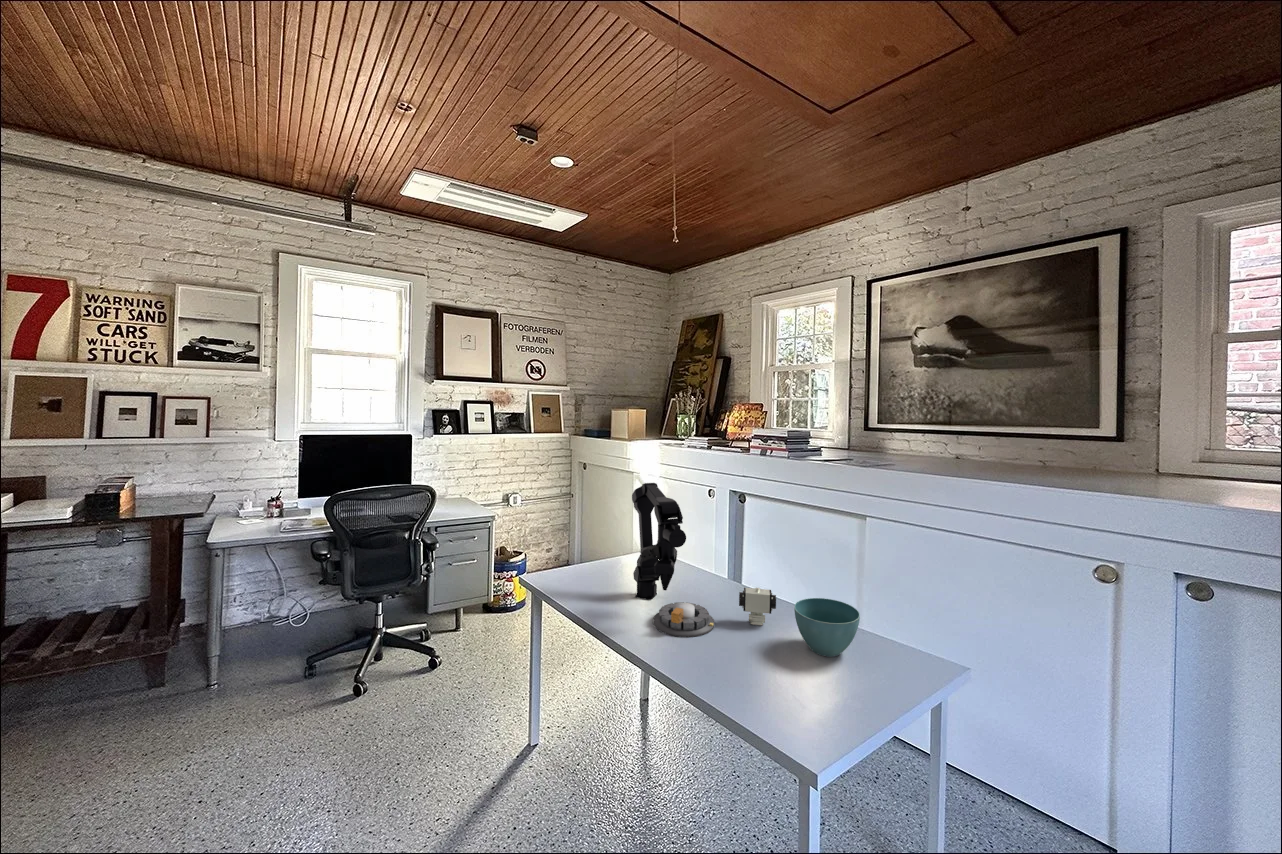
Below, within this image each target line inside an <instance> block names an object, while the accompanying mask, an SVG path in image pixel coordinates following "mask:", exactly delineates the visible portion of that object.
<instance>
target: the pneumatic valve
mask: <svg viewBox="0 0 1282 854" xmlns="http://www.w3.org/2000/svg"><path fill="white" fill-rule="evenodd" d="M738 602H739V603H738V606H740V607H741V608H742V609H743V612H747V613H748V612H749V614H748V622H750V623H749V624H750V625H752V626H758V627H759V626H760V627H761V626H764V624H765V623H766V615H765V614H769V615H770V614H772V611H773V610H777V595H776V594H773V592H772V589H765V588H760V587H754V588H752V587H743V590H742V591H741V592H740V591H739V596H738Z"/></svg>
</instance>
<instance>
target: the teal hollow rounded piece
mask: <svg viewBox="0 0 1282 854" xmlns="http://www.w3.org/2000/svg"><path fill="white" fill-rule="evenodd" d="M793 607H794V608H793V609H794V616H795V617H794V618H795V621H796V625H797V628H798V631H799V633H800V635H801V638H802V639H803V641H804V642H805V643H806V645H807V646H808V647H809V649H810V650H811V651H812V652H813V653H814V654H816V655H818V656H823V657H828V658H830V657H831V658H832V657H837V656H839V655H841V654H842V653H844V651H845V650H847V648H848V647H850V645H851V643H853V640H854V639H855V637H856V635H857V632H858V629H859V625H860V619H861V618H860V617H861V614H860V611H859V610H858V609H857V608H855V607H854V606H852V604H849V603H846V602H844V601H841V600H836V599H831V598H825V597H809V598H804V599H801V600H797V601H796V603H794V606H793Z"/></svg>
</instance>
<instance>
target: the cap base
mask: <svg viewBox="0 0 1282 854" xmlns="http://www.w3.org/2000/svg"><path fill="white" fill-rule="evenodd" d="M675 603H676V604H674V603H673V604H674V606H673V610H674V609H675V608H681V609H683V619H691V618H694V617H697V616H695V607H694V605H692V604H690V603H691V602H687V603H686V602H684V603H678V602H675ZM652 618H653V620H652V623H653V626H654V628H655V629H656V630H658V631H659V632H660V633H662V634H665V635H669V636H671V637H677V638H695V637H696V638H697V637H702V636H705V635H708V634H709V633H710V632H712V631H713V630H714V629H715V619H714V618H713V617H712V615H710V614H709V622H708V623H707V625H706V626H705V627H702V628H700V629H697V630H696V629H695V628H694V630H684V631H683V628H682V630H677V629H671V627H669V628H668V627H666V626H665V625H663V624H662V623H660V620H659V612H657V613H656V614H655V615H653V617H652Z"/></svg>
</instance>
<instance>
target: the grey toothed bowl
mask: <svg viewBox="0 0 1282 854" xmlns="http://www.w3.org/2000/svg"><path fill="white" fill-rule="evenodd" d="M676 603H688V602H684V601H683V602H674V603H672V602H671V603H668V604H665V605H662V606H661V607H660V608H659V610H658V613H659V620H660V623H662V624H663V625H665V626H666V627H668V628H669V627H671V629H677V630H682V628H683V631H684V630H694V628H695V629H696V630H697V629H700V628H702V627H705V626H706V625H707V623H708V622H709V615H710V613H709V611H708V609H707V608H705V607H704V606H702V605H700V604H697V603H692V602H689V603H690V604H692V605H694V607H695V616H697V617H694V618H691V619H683V609H681V608H675V609H674V610H673V606H674V604H676Z"/></svg>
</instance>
